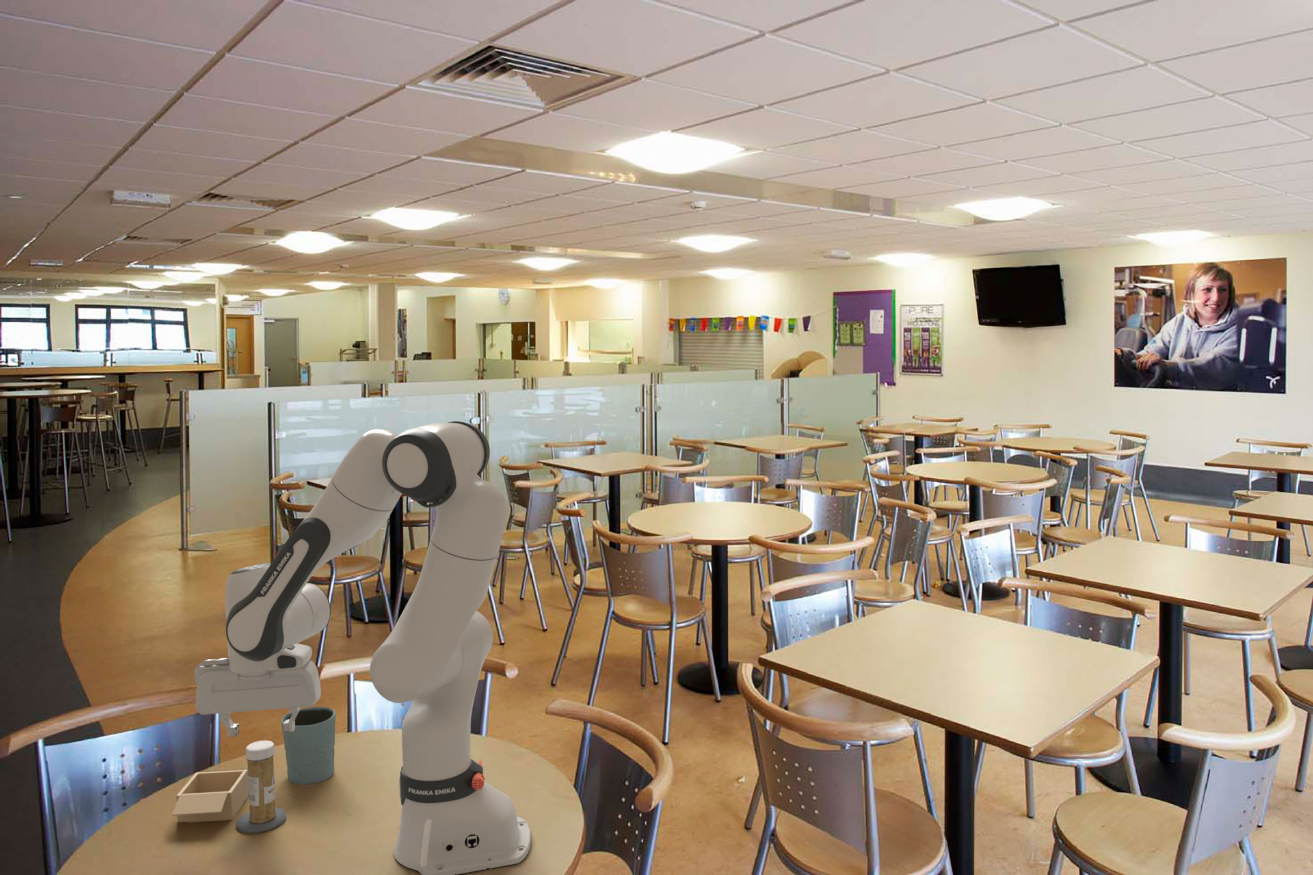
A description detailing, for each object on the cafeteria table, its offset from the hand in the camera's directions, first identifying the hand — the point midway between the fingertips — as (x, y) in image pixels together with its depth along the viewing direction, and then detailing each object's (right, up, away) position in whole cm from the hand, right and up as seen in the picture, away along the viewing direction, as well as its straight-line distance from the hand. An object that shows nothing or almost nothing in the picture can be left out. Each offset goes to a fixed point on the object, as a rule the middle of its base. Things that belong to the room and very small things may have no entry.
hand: (261, 733), depth 156 cm
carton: (-11, -16, +6) cm, 20 cm away
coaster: (-1, -16, +1) cm, 16 cm away
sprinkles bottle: (0, -16, +1) cm, 16 cm away
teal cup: (+1, -15, +20) cm, 25 cm away
